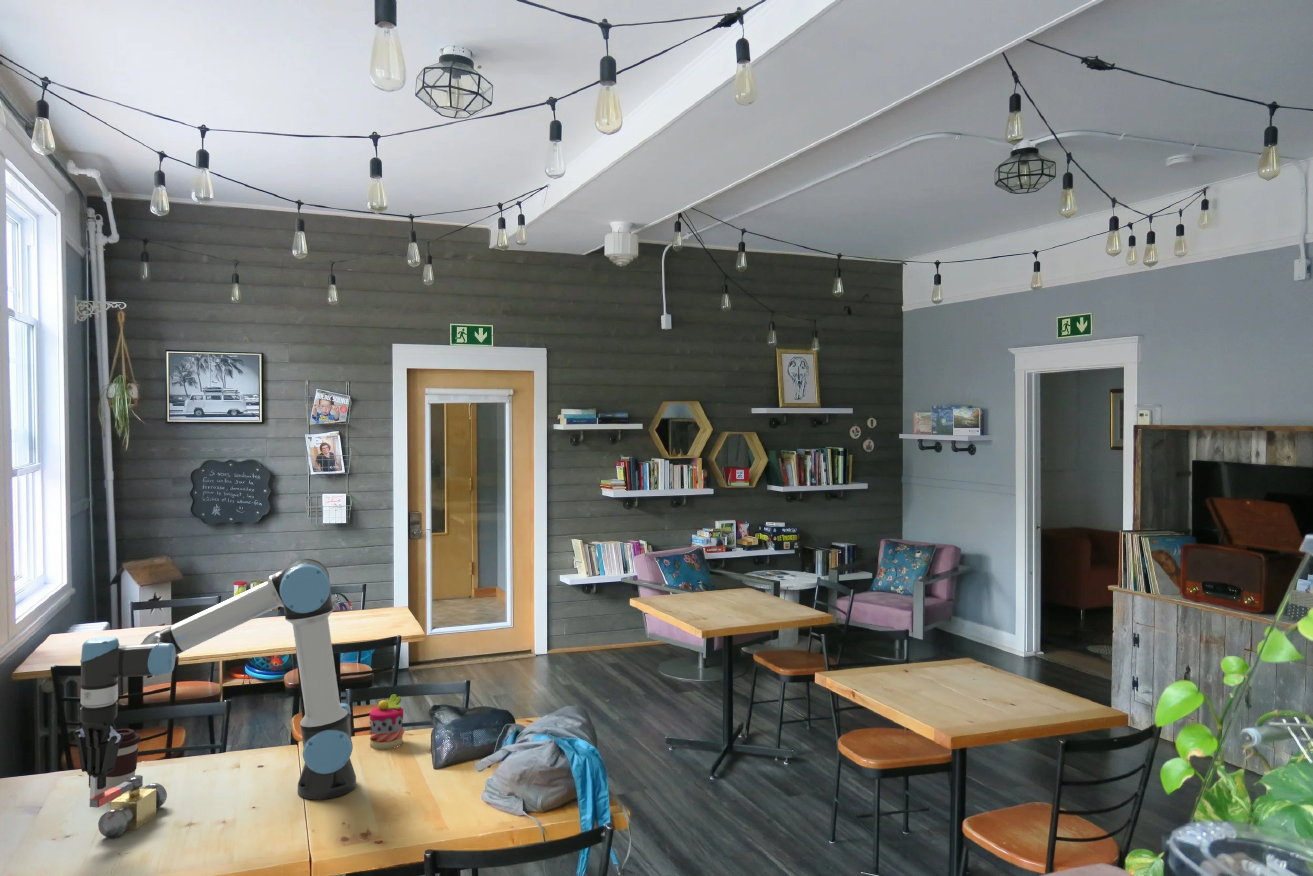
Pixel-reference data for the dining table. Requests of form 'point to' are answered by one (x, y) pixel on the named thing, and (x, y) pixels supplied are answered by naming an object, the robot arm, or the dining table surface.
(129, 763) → the coffee cup
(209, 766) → the dining table surface
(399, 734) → the cake
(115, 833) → the valve
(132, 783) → the lever
